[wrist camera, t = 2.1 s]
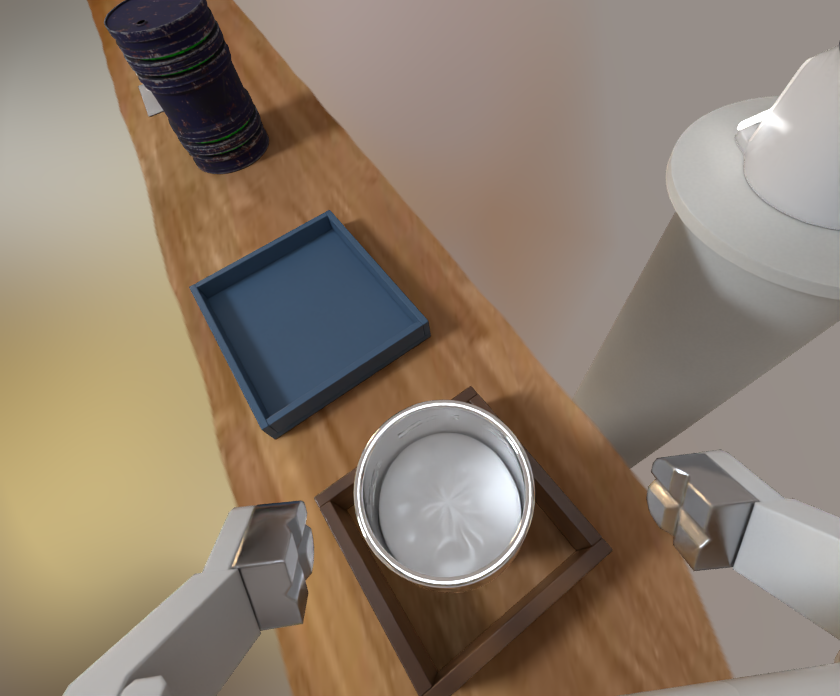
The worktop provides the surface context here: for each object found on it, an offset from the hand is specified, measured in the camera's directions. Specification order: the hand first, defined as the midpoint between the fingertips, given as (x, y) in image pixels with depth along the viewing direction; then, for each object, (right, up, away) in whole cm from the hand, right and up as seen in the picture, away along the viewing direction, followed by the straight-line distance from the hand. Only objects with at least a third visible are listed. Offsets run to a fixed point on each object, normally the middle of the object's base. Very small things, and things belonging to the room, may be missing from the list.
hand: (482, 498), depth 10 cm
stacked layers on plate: (-39, +42, +52) cm, 77 cm away
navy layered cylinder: (-25, +29, +43) cm, 58 cm away
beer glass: (+1, -9, +18) cm, 20 cm away
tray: (-12, +6, +28) cm, 31 cm away
